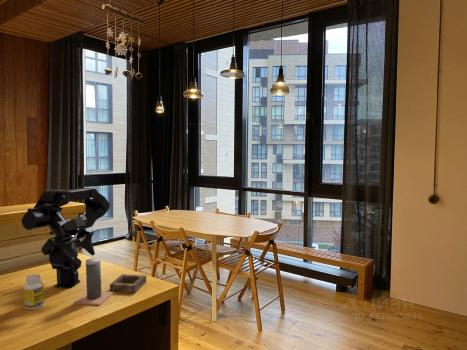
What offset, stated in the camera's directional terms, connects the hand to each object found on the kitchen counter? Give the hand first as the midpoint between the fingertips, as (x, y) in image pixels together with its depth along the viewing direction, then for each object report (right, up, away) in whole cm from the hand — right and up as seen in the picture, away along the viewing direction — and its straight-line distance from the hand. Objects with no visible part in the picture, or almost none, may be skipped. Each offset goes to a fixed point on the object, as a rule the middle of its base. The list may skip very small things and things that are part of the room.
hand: (83, 258), depth 116 cm
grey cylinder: (+3, -13, 0) cm, 13 cm away
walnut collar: (+12, -12, +10) cm, 20 cm away
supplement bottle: (-13, -14, -6) cm, 20 cm away
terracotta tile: (+4, -13, 0) cm, 14 cm away
